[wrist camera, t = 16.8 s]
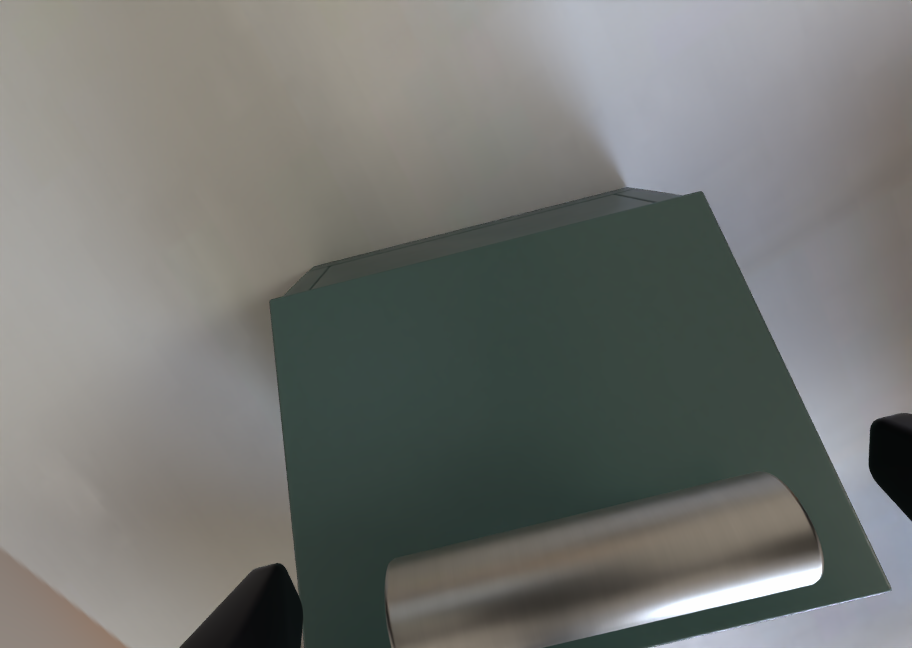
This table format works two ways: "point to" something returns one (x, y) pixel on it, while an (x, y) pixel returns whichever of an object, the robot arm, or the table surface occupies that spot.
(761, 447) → the lid
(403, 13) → the table surface
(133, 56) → the table surface
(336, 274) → the dark green toolbox
